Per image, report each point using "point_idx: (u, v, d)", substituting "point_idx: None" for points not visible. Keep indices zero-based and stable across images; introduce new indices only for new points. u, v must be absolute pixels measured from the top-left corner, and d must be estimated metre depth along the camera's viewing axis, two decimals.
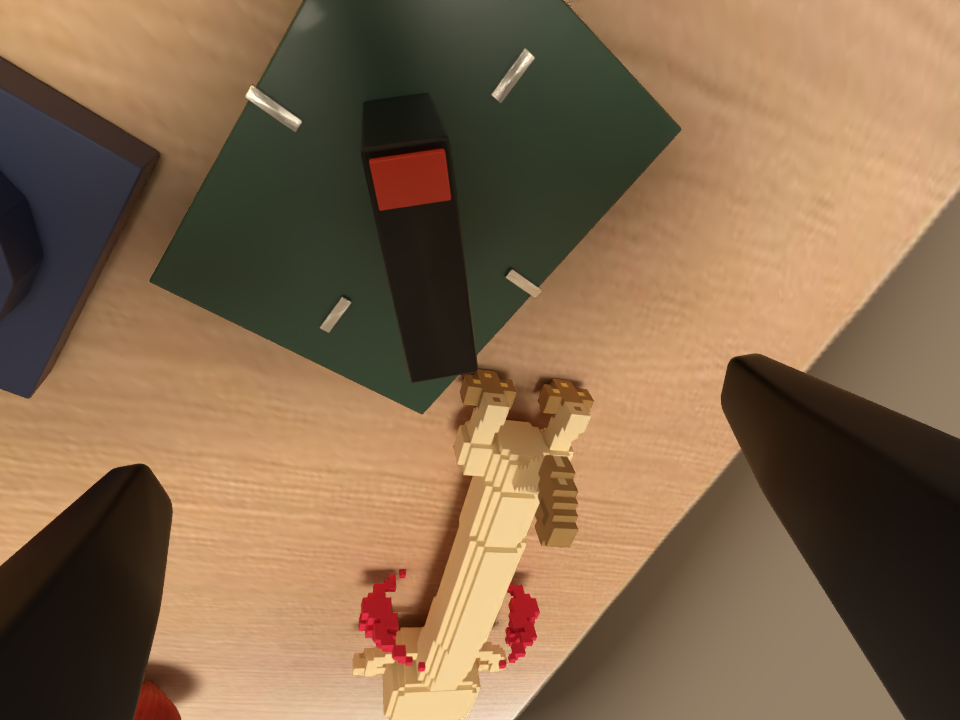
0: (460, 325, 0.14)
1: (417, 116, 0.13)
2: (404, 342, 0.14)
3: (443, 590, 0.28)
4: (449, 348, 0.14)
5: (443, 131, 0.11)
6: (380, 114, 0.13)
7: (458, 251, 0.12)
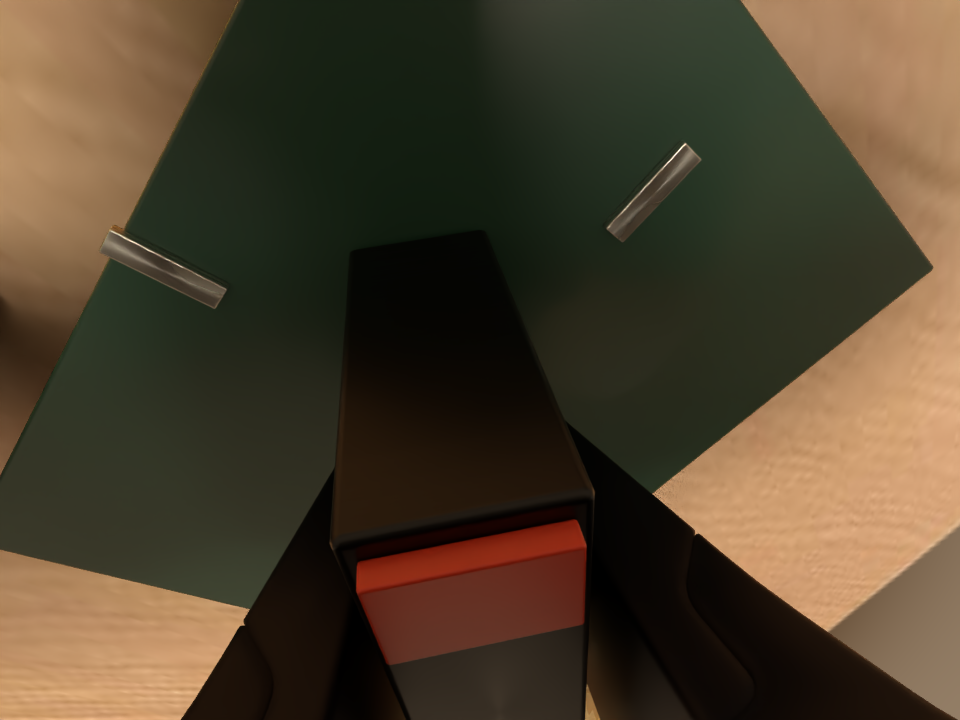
0: None
1: (477, 336, 0.05)
2: None
3: None
4: None
5: (567, 446, 0.04)
6: (387, 313, 0.06)
7: (577, 669, 0.05)
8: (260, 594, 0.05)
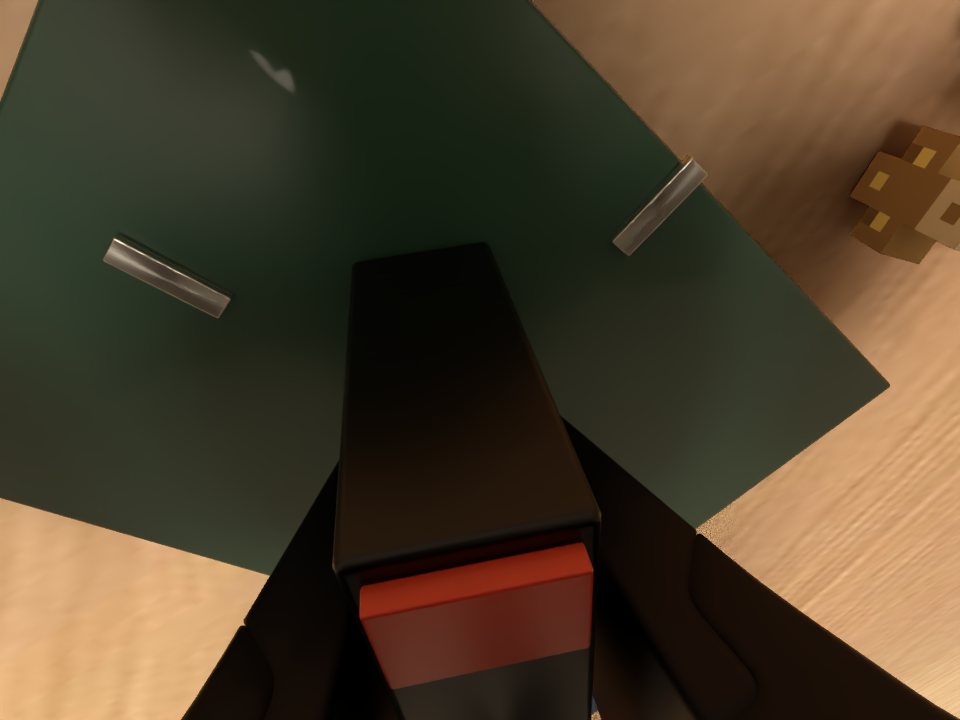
0: None
1: (480, 352, 0.05)
2: None
3: None
4: None
5: (573, 467, 0.04)
6: (389, 328, 0.06)
7: (582, 689, 0.05)
8: (260, 594, 0.05)
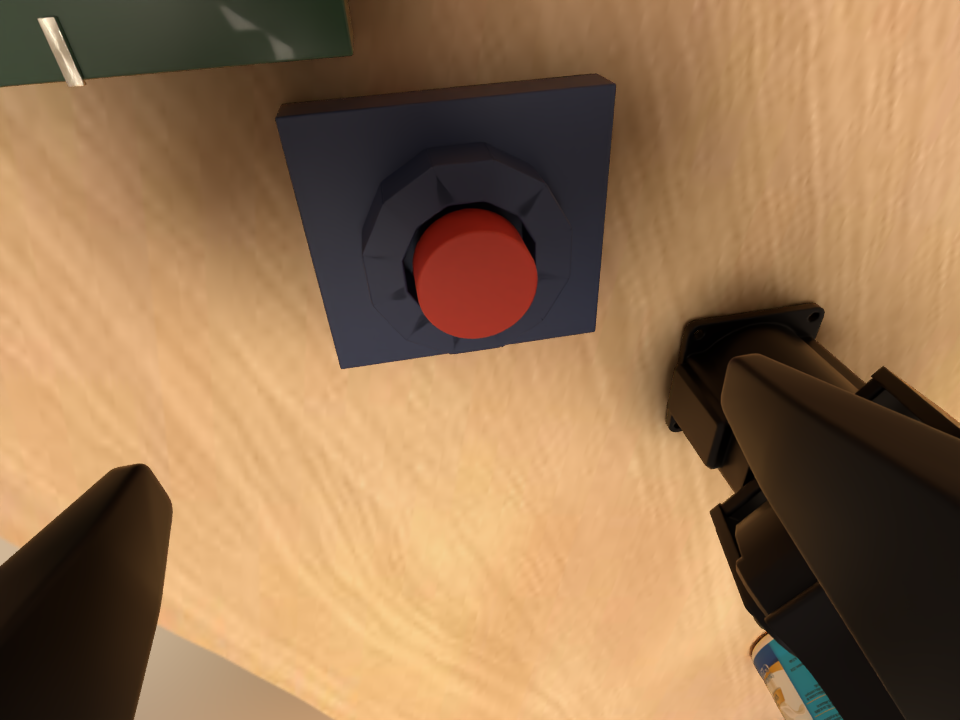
0: None
1: None
2: None
3: None
4: None
5: None
6: None
7: None
8: None
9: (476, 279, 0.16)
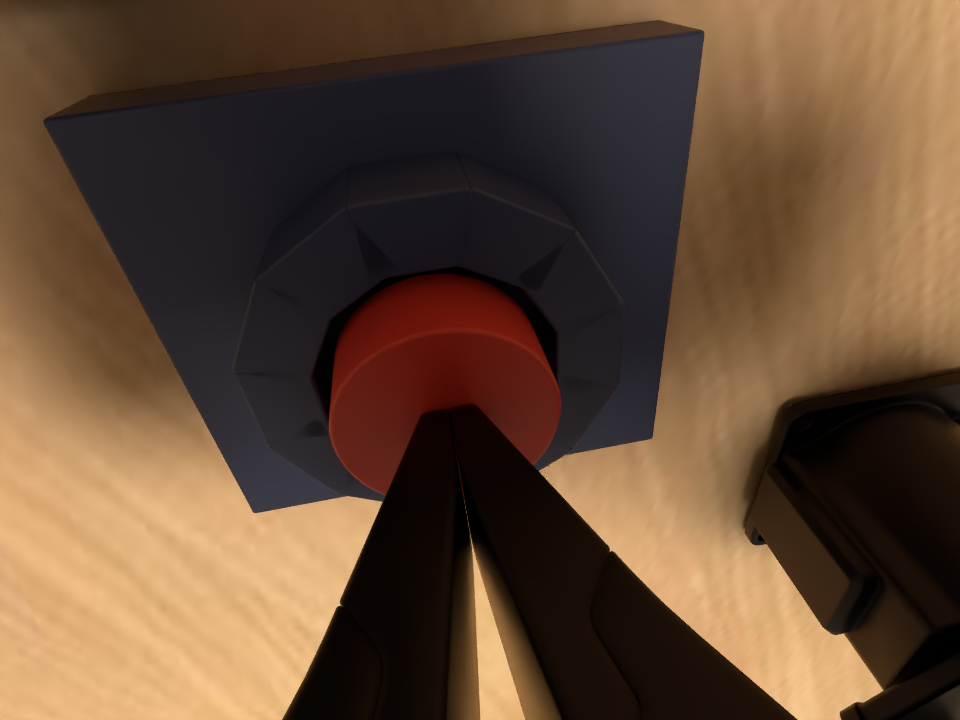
0: None
1: None
2: None
3: None
4: None
5: None
6: None
7: None
8: (353, 576, 0.05)
9: None
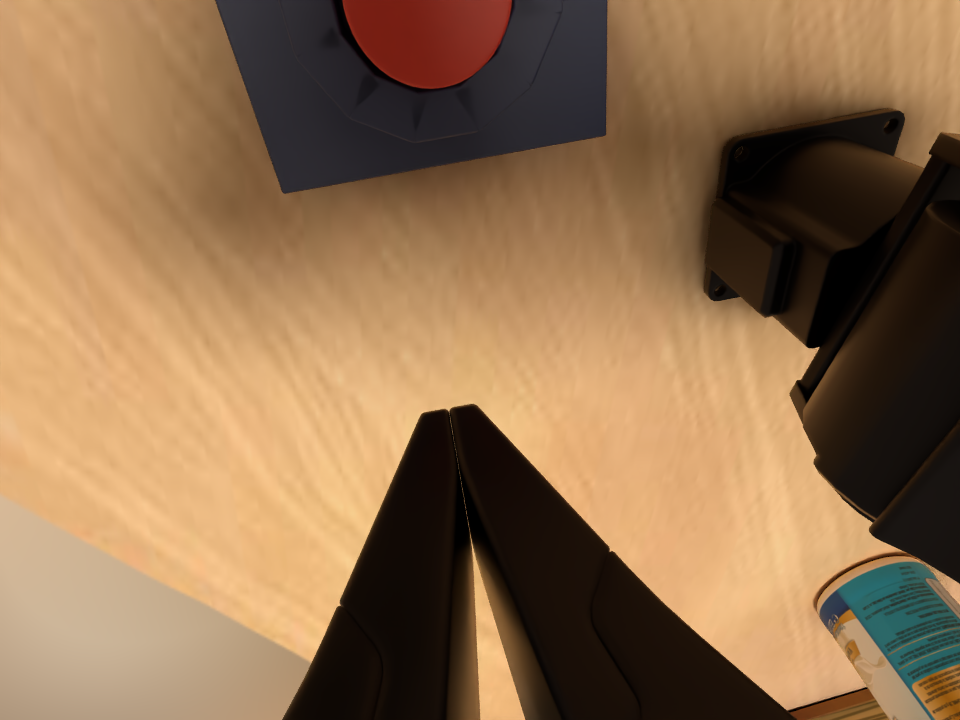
0: None
1: None
2: None
3: None
4: None
5: None
6: None
7: None
8: (352, 576, 0.05)
9: None
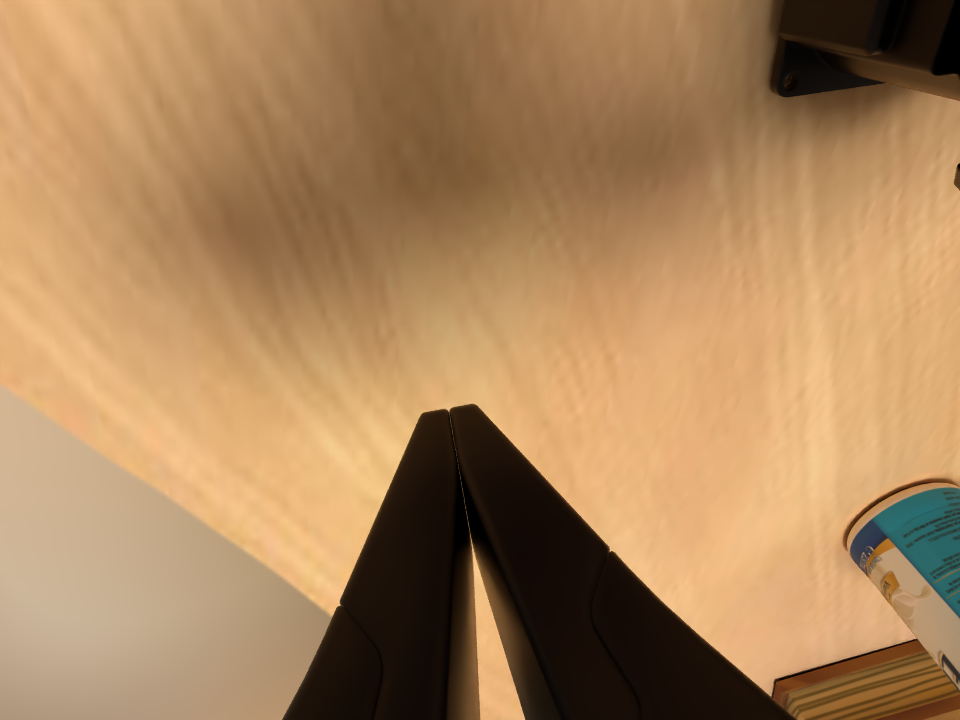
0: None
1: None
2: None
3: None
4: None
5: None
6: None
7: None
8: (352, 576, 0.05)
9: None
